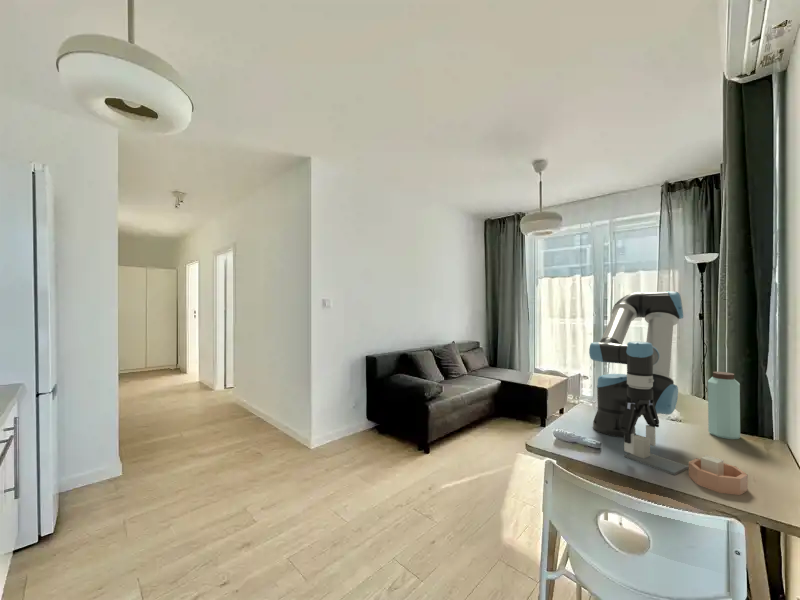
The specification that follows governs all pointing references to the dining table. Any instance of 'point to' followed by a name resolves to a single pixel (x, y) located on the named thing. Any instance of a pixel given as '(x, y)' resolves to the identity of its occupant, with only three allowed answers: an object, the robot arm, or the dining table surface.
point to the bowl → (719, 478)
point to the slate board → (659, 463)
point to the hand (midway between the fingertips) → (640, 448)
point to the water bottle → (724, 406)
